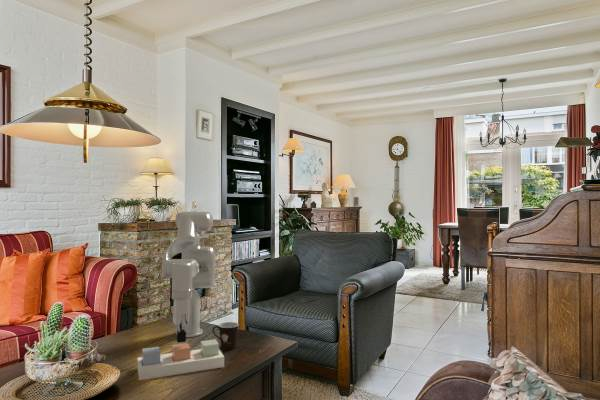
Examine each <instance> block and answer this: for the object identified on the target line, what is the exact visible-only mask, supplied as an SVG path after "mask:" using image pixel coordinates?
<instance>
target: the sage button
mask: <svg viewBox="0 0 600 400" xmlns="http://www.w3.org/2000/svg"><path fill="white" fill-rule="evenodd" d="M200 349H201V355H202V357H208V356H215V355H219V350H220V343H219V342H218V341H217V339H209V340H201V341H200Z"/></svg>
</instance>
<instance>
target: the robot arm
mask: <svg viewBox="0 0 600 400" xmlns="http://www.w3.org/2000/svg"><path fill="white" fill-rule="evenodd" d="M213 223H214V217H213V214H212V212H210V211H181V212H178V213H177V214H175V224H176V226H177V234H176V239H175V240H174V241H173V242H171V243H170V244H169V245H168V247H167V248H166V249H165V251H164V253H163V257H162V264H161V273H162V275H163V277H165V278H167V279H171V299H172V300H173V311H172V312H173V313H172V322H173V324H174V325H175V326H176V331H175V335H176V342H177V344H180V343H186V341H187V338H193V337H198V336H201V335H202V334H203V333H204V331H203V329H202V328H200V323H201V322H200V321H201V320H200V319H201V317H200V315H201V313H200V312H201V310H200V309H201V297H200V295H199V293H198V291H197V290H196V289H210V288H213V287H214V286H215V282H216V253H215V252H216V251H215V250H214V248H213V247H212V246H205V245H203V246H201V245H200V242H201V240H200V239H201V237H200V234H199V232H210V231H211V230H212V227H213V225H214V224H213ZM178 254H181V258H173V257H174V256H177V255H178ZM200 267H203V268H200ZM204 267H205V268H204Z"/></svg>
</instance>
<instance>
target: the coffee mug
mask: <svg viewBox="0 0 600 400" xmlns="http://www.w3.org/2000/svg"><path fill="white" fill-rule="evenodd" d="M216 328H217V329H218V331H219V336H218V335H217V334H216V333H215V329H216ZM212 334H213V335H214V336H215V337H216V338H217V339H218V340H220V347H221V348H220V350H223V351H231V350H236V348H237V340H238V334H239V323H237V322H235V321H226V322H222V323H219V324H218V326H217V325H215V326H213V328H212Z"/></svg>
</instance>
